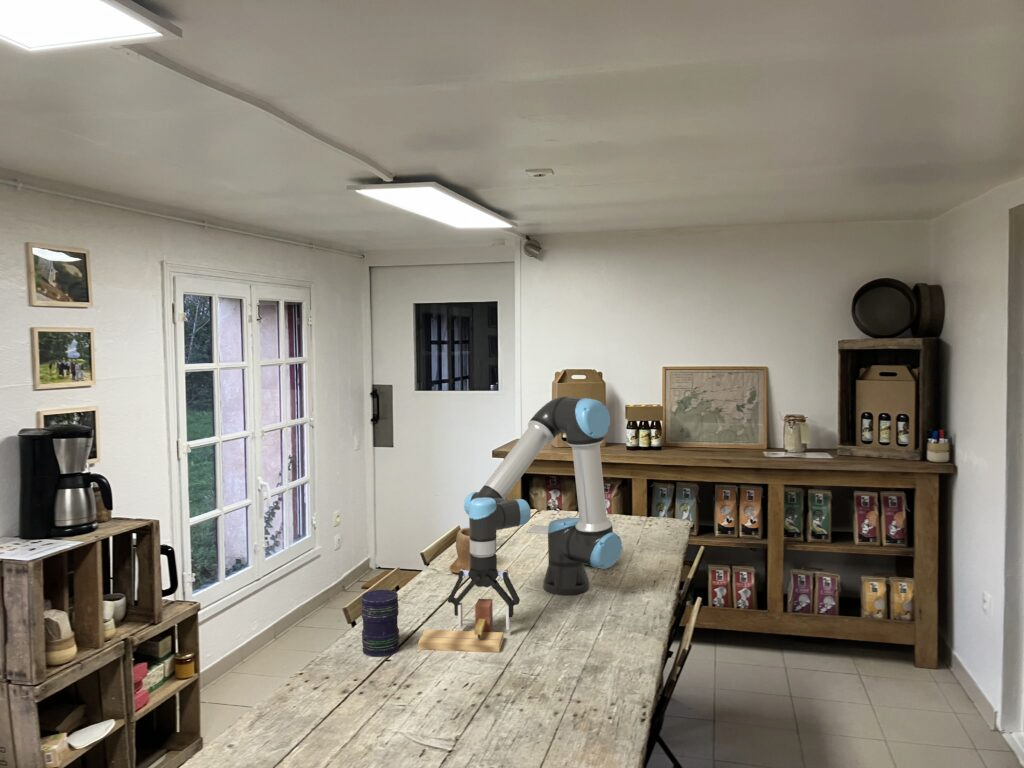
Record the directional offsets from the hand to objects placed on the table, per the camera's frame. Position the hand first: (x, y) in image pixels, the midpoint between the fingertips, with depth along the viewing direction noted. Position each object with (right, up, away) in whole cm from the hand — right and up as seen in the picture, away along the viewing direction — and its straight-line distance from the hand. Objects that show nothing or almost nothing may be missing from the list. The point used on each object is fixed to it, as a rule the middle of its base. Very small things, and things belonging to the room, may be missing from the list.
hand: (484, 627), depth 225 cm
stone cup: (-8, +2, +60) cm, 61 cm away
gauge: (0, -2, -4) cm, 4 cm away
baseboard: (+31, +5, +111) cm, 115 cm away
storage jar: (-27, -3, -11) cm, 30 cm away
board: (-6, -2, -8) cm, 10 cm away
